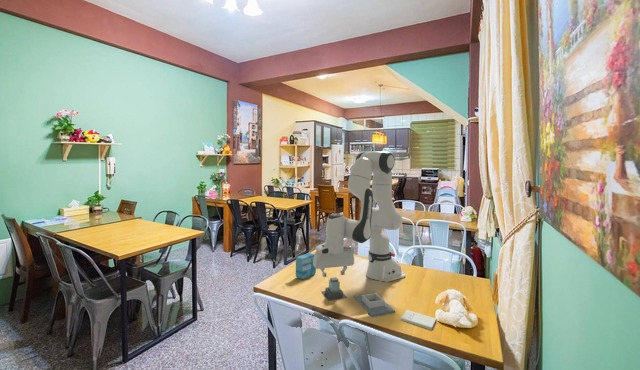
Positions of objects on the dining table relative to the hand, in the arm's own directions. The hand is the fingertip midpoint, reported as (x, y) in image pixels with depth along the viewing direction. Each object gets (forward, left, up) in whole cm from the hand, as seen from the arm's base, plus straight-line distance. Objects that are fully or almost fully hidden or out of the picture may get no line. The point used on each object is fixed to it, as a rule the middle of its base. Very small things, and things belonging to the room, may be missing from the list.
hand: (333, 275), depth 140 cm
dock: (-15, +13, -11) cm, 22 cm away
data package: (+5, -28, -11) cm, 31 cm away
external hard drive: (-27, +30, -12) cm, 42 cm away
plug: (-1, 0, -10) cm, 10 cm away
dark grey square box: (-1, 0, -11) cm, 11 cm away
